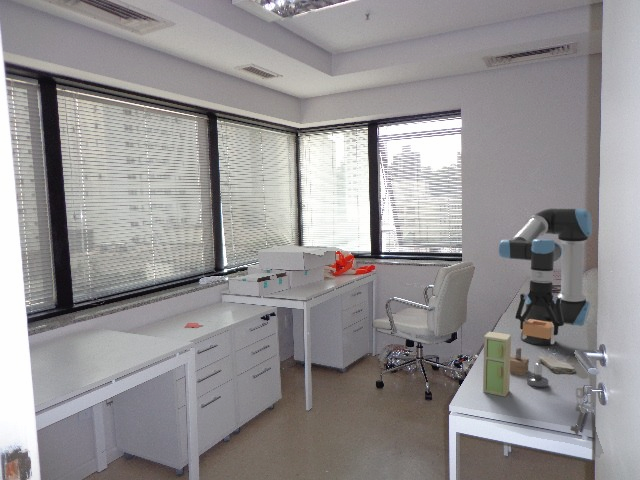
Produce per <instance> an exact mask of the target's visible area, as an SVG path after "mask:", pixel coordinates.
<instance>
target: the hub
mask: <svg viewBox="0 0 640 480" xmlns="http://www.w3.org/2000/svg"><path fill="white" fill-rule="evenodd" d="M533 370H534V371H533V373H534V374H533V375H528V376H527V378H526V379H527V380H526V384H527V385H528V386H529V387H531V388H536V389H541V390H542V389H548V387H549V379H548V378H546V377H544V376H543V363H542V362H535V363H534V369H533Z"/></svg>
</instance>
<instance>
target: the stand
mask: <svg viewBox="0 0 640 480" xmlns="http://www.w3.org/2000/svg"><path fill="white" fill-rule="evenodd" d="M529 361H530V360H529V357H523V356H522V348H521V347H519V346H518V347H515V355H512V354H511V355H510V374H515V375H520V376H525V375H526V374H527V373H528V371H529Z"/></svg>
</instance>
